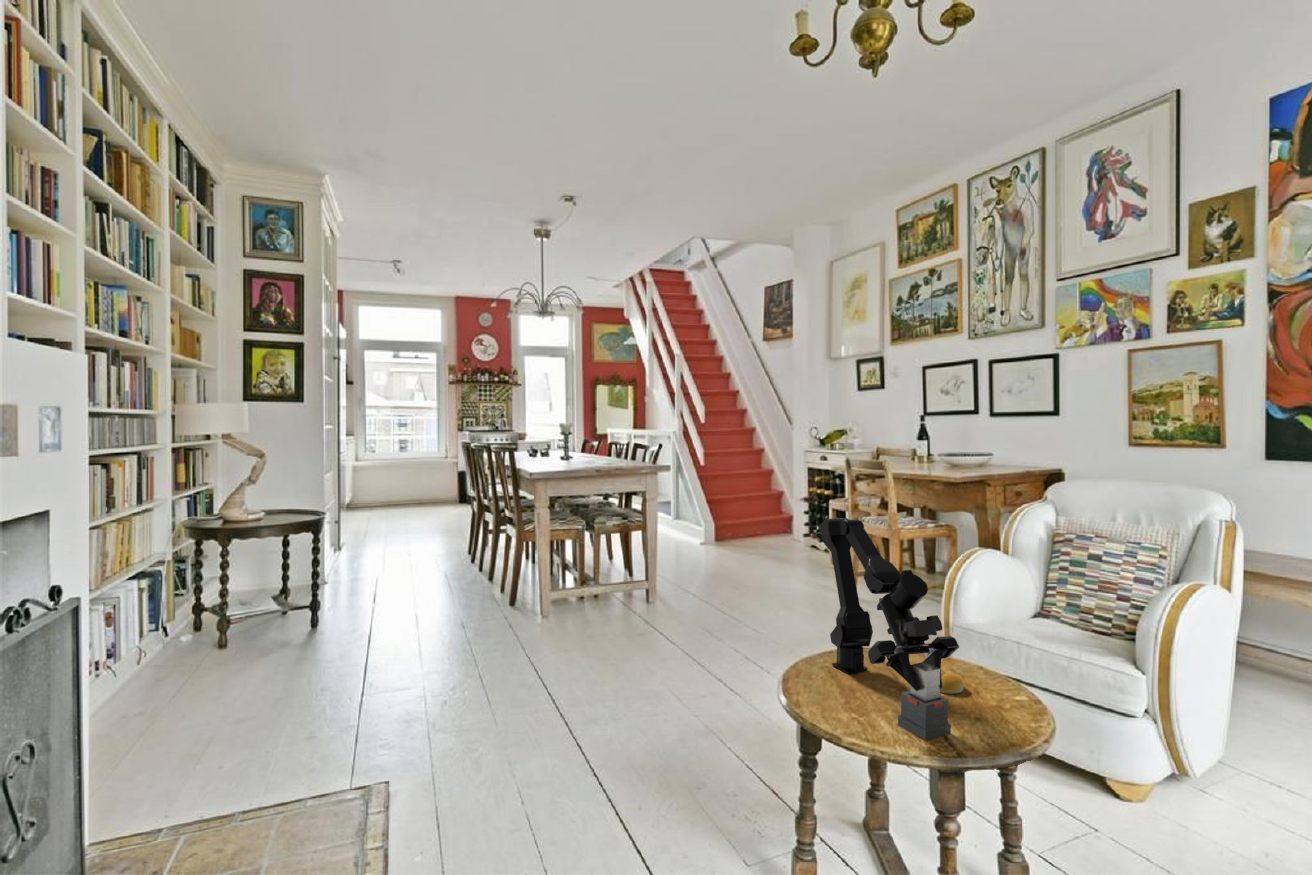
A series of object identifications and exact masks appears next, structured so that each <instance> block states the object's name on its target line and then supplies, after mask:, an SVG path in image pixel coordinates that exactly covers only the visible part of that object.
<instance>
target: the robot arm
mask: <svg viewBox="0 0 1312 875" xmlns="http://www.w3.org/2000/svg"><path fill="white" fill-rule="evenodd" d="M819 533H820V535H821V538H822V541H823V544H824V545H825V546H826V548H827V549H828V551H830V554H831V558H832V565H833V570H834V576H835V582H836V583H835V584H836V588H837V594H838V600H839V607H840V608H839V611H838V613H837V615H836V617H835V623H836V626H835V627H834V629H833V630H832V631H831V633H830V635H829V636H830V642H831V644H833V645H834V646H835V647H836V662H832V663H831V666H832V667H834V668H836V669H838V670H840V671H842V672H844V673H846V674H848V675H851V674H855V673H861V672H866V671H868V667H866V666H864V664H865V663H864V662H865V660H864V659H865V658H864V657H865V654H864V647H867V648H868V647H870V646H871V645H870V644H871V641H872V637H873V632H874V630H873V625H872V622H871V616H870V613H869V612H868V610H867V611H865V610H864V609H863V607H862V606H861V604H860V599H859V595H858V594H859V593H858V588H857V582H856V577H855V572H854V571H855V570H854V565H853V560H852V553H851V548H852V550H853V552H854V553H855V555H856V556H857V558H858V559H859V562H860V563H861V565H862V567H863V569H864V573H863V580H864V582H865V584H866V587H867V589H868V590H869V592H870V593H871V594H873V595H882V594H883V595H884V594H885V595H884V596H883V597H882V598H881V597H880V598H879V600H878V603H877V605H876V610H877V611H882V612H883V615H884V618H885V621H886V623H887V625H888V628H887V630H886V632H887V633H888V635H892V638H893V640H894V641H893V640H891V639H890V640H878V641H877V640H876V641H875V643H874V644H873V645H872V647H871V648H870V649H869V650H868V652H867V657H868V659H869V662H870V664H872V665H877V664H884V663H885V661H886V658H887V662H886V663H885V666H886V667H890V668H891V669H892V670H894V671H895V672H896V673H897V674H898V675H899V676H900V677H902V678H903V679H904V680H905V682H906V683H907V684H908V685H911V686H912V687H913V688H914V689H915V690H916V691H919V690H920V687H919V684H918V681H917V679H916V676H915V674H914V672H913V669H912V667H911V665H912V664H911V662H910V655H918V654H920V655H921V654H923V656H924V658H925V659H924V660H922V662H926V663H929V664H931V665H933V666H935V667H938V668H940V689H941V688H942V678H941V670H942V668H941V667H942V659H943V660H944V659H947V658H950V656H951V655H953V653H954V654H955V652H956V651H957V650H958V649H959V648H960V645H959V643H958V640H957V639H956V638H955V637H953V636H951V635H947V636H938V633H937V632H940V631H943V624H942V621H941V619H940V617H939V615H937V614H936V615H927V616H926V619H924V620H923V619H921V620H920V618H918V616H914V615H913V612H912V611H911V610H912V609H914V608H916V607H917V605H918V604H919V603H920V602H921V600H922V599H924V597H925V596H926V595H927V593H928V591H929V588H928V584H927V582H926V581H924V580H923V579H922V578H921V577H920V576H918V575H917V574H914V573H913V571H912V569H904V570H901V572H900V571H899V570H898V569H897V567H896V566H895V565H894V564H893V563H892V562H890V561H889V560H888V559H885V558H883V556H882V555H881V553H880V551H879V550H878V547H876V545H875V544H874V542H873V540H872V538H871V537H870V536H869V534H868V532H867V531H866V529H865V525H864V523H863V521H862V520H860V519H859V518H858V519H849V518H847V517H843V518H839V517H836V518H824V519H823V521H822V522H821V523H820V525H819ZM930 636H937V637H935V639H933V641H932V642H930V643H929V642H928V643H927V641H928V640H930ZM925 642H926V643H925Z"/></svg>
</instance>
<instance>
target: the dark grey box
mask: <svg viewBox="0 0 1312 875" xmlns="http://www.w3.org/2000/svg"><path fill="white" fill-rule="evenodd" d="M900 698H901V699H900V700H901V702H900V703H901V704H900V715H898V716H897V726H899V727H901V728H902V729H904V730H906V731H907V732H910V733H911V734H912V735H915V736H916V737H918V738H919V739H922V740H923V741H925V742H926V741H930V740H932V739H933V740H934V739H936V738H940V737H943V736H946V735H950V734H951V732H952V731H951V730H952V728H951V726H952V724H951V723H950V722H949V699H948V698H946V697H943V696H941V695H940V697H939V700H936V701H933V702H929V703H924V702H922V701H920V700H918V699H916V698H914V697H913V696H911V695H910V690H908V691H904V692H901V696H900Z"/></svg>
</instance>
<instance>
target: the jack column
mask: <svg viewBox="0 0 1312 875" xmlns="http://www.w3.org/2000/svg"><path fill="white" fill-rule="evenodd" d="M910 665H911V667H912V669H913V672H914V674H915V676H916V679H917V681H918V684H919V687H920V690H919V691H916V690H915V689H914V688H913V687H912V686H911V685H910V684H909V685H910V686H909V687H910V688H909V691H910V695H911V696H913V697H914V698H916V699H918V700H920V701H922V702H924V703H929V702H933V701H936V700H939V697H940V696H941V694H940V693H941V692H940V668H938V667H935V666H933V665H931V664H929V663H926V662H923V661H922V662H916V663H913V664H910Z"/></svg>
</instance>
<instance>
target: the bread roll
mask: <svg viewBox="0 0 1312 875" xmlns="http://www.w3.org/2000/svg"><path fill="white" fill-rule="evenodd" d="M941 678H942V688H941V689H940V693H942V694H948V695H951V694H953V695H954V694H960V693H962V692H963V691H964V681H963V679H962V678H961V677H960V676H959V675H957V674H955V673H950V672H949V673H948V672H945V670H943V669H941Z"/></svg>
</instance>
